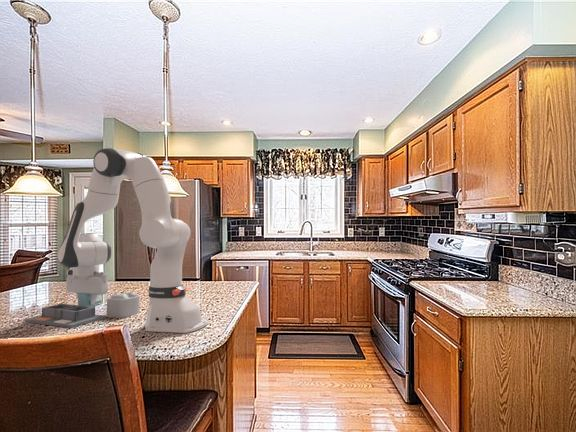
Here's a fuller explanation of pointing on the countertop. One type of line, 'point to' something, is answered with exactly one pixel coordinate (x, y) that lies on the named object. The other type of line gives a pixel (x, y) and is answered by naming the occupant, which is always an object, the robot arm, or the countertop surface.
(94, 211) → the robot arm
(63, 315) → the socket board
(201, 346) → the countertop surface
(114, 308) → the lumpy-topped squat cylinder
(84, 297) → the teal upright block
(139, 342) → the countertop surface
